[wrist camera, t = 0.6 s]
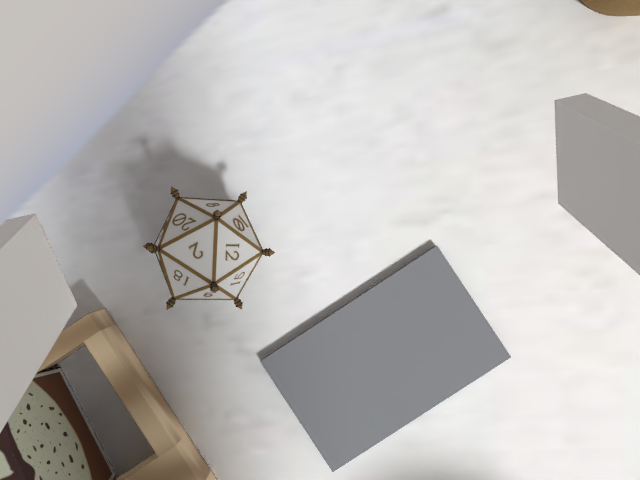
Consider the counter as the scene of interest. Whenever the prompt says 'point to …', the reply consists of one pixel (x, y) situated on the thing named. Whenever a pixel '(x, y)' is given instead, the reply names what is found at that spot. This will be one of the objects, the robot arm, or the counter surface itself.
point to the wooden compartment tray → (134, 399)
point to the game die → (207, 249)
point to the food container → (51, 436)
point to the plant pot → (614, 7)
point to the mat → (385, 358)
